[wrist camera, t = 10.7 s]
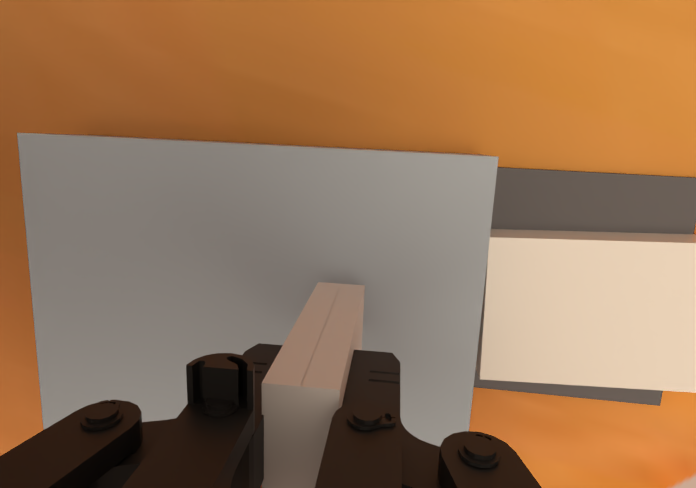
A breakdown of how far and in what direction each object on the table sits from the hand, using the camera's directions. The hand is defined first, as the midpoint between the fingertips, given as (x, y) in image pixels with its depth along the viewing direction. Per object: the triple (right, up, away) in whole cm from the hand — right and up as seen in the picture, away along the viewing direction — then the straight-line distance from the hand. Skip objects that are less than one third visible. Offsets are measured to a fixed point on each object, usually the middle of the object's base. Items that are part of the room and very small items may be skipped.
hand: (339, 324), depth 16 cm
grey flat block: (-3, 0, +7) cm, 8 cm away
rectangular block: (+10, 0, +5) cm, 12 cm away
